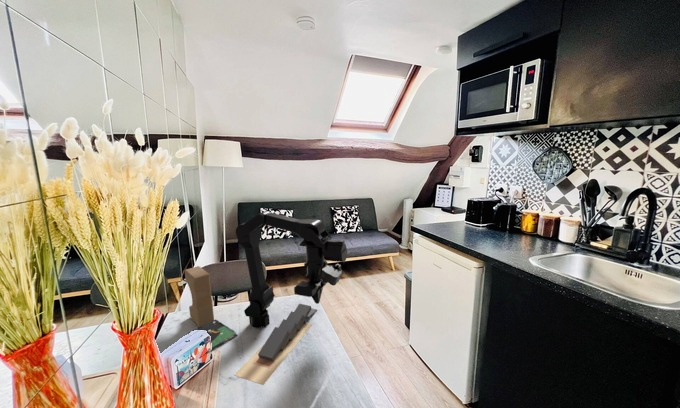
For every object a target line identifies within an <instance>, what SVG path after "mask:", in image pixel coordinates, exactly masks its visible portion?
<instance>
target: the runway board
mask: <svg viewBox="0 0 680 408" xmlns="http://www.w3.org/2000/svg"><path fill="white" fill-rule="evenodd" d="M312 326H313V324H312V323H308V322H307V323H306V324H303V325H302V327H301V328H300V330H299V331H296V333H295V335H294V336H293V338H292V340H291V341H289V340H288V342H287V344H286V346H285V347H284V349H283V351H280V350H279V352H278V354H277V356H276V357H275V359H274V361H270V360H266V359H263V358H259V355H258V353H259V352H260V350H261V349H262V347H263V346H264V344H263V345H262V346H261V347H260V348H259V349H258V350H257V351H256V352H255V353H254V354H253V355H252V356H251V357H250V358H249V359H248V360H247V361H246V362H245V363H244V365H242V366H241V367H240V368H239V370H238V371H236V372H235V374H234V376H236V377H239V378H241V379H244V380H248V381H251V382H254V383H257V384H260V385H262V386H264V385H265V384H266V382H267V381H268V380H269V379H270V378H271V376H272V375H273V374H274V373H275V371H277V369H278V367H280V365H281V364H282V363H283V361H284V360H285V359H287V357H288V355H289V354H290V353H291V351H292V350H293V349H294V348H295V346H297V344H298V343H299V342H300V341H301V339H302V338H303V337H304V336H305V334H306V333H307V332H308V331H309V330H310V328H311V327H312Z"/></svg>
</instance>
